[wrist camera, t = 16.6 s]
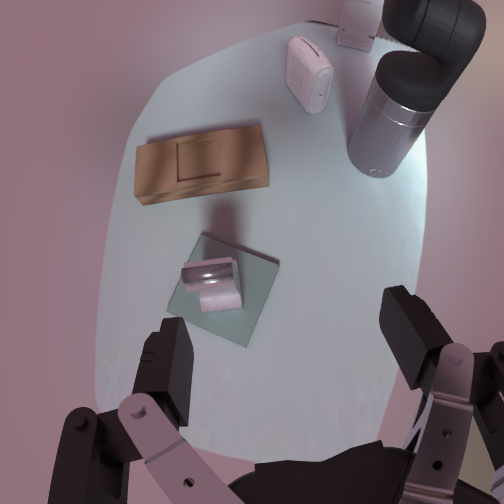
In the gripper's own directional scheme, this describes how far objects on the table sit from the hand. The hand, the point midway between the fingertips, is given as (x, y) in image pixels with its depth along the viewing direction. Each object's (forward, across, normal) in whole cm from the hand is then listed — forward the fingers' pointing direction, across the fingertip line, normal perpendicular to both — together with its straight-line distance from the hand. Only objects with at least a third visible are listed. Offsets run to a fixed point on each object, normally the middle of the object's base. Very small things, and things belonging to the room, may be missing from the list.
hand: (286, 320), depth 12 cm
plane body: (+40, +7, +3) cm, 41 cm away
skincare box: (+63, -29, -19) cm, 72 cm away
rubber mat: (+26, +6, +17) cm, 32 cm away
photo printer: (+50, -12, -6) cm, 52 cm away
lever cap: (+26, +6, +16) cm, 31 cm away
